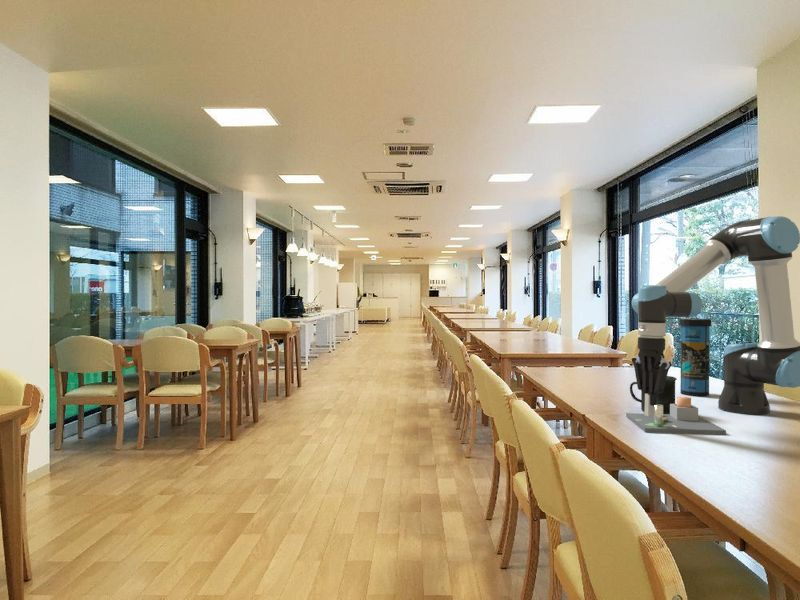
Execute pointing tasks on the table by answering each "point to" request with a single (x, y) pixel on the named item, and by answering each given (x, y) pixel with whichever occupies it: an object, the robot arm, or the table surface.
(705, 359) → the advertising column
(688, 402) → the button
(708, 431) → the tuner board
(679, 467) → the table surface
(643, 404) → the mug
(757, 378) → the robot arm
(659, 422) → the brass ball-ended crank
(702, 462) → the table surface
